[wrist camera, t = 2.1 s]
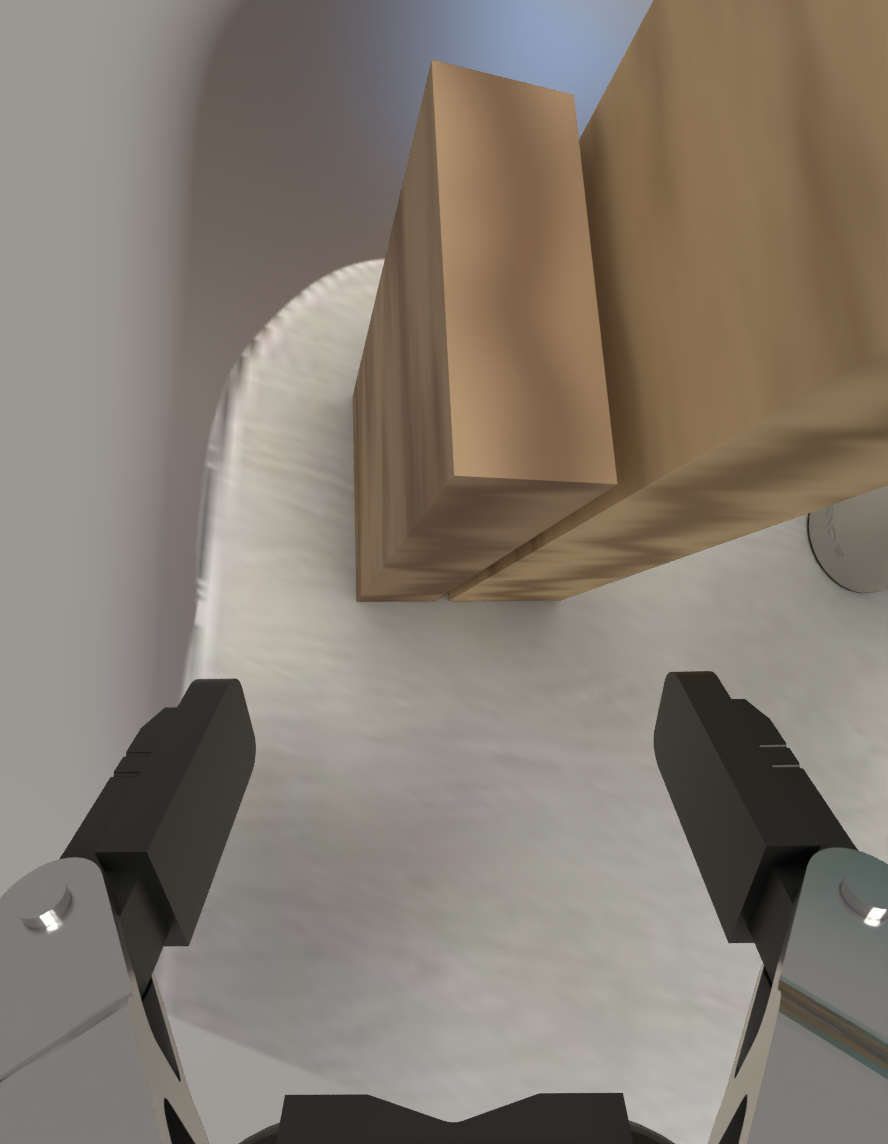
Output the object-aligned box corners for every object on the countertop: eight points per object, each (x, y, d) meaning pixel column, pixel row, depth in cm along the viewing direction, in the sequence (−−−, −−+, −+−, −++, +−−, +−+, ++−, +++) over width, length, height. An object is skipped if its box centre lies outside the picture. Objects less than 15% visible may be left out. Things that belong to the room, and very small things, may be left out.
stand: (543, 412, 43) (1155, -256, 13) (560, 600, 40) (1387, 309, 10) (439, 403, 41) (877, -420, 11) (448, 601, 38) (1076, 236, 8)
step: (425, 402, 41) (573, 94, 20) (434, 601, 38) (617, 483, 17) (352, 396, 39) (431, 59, 19) (356, 601, 37) (454, 475, 16)
